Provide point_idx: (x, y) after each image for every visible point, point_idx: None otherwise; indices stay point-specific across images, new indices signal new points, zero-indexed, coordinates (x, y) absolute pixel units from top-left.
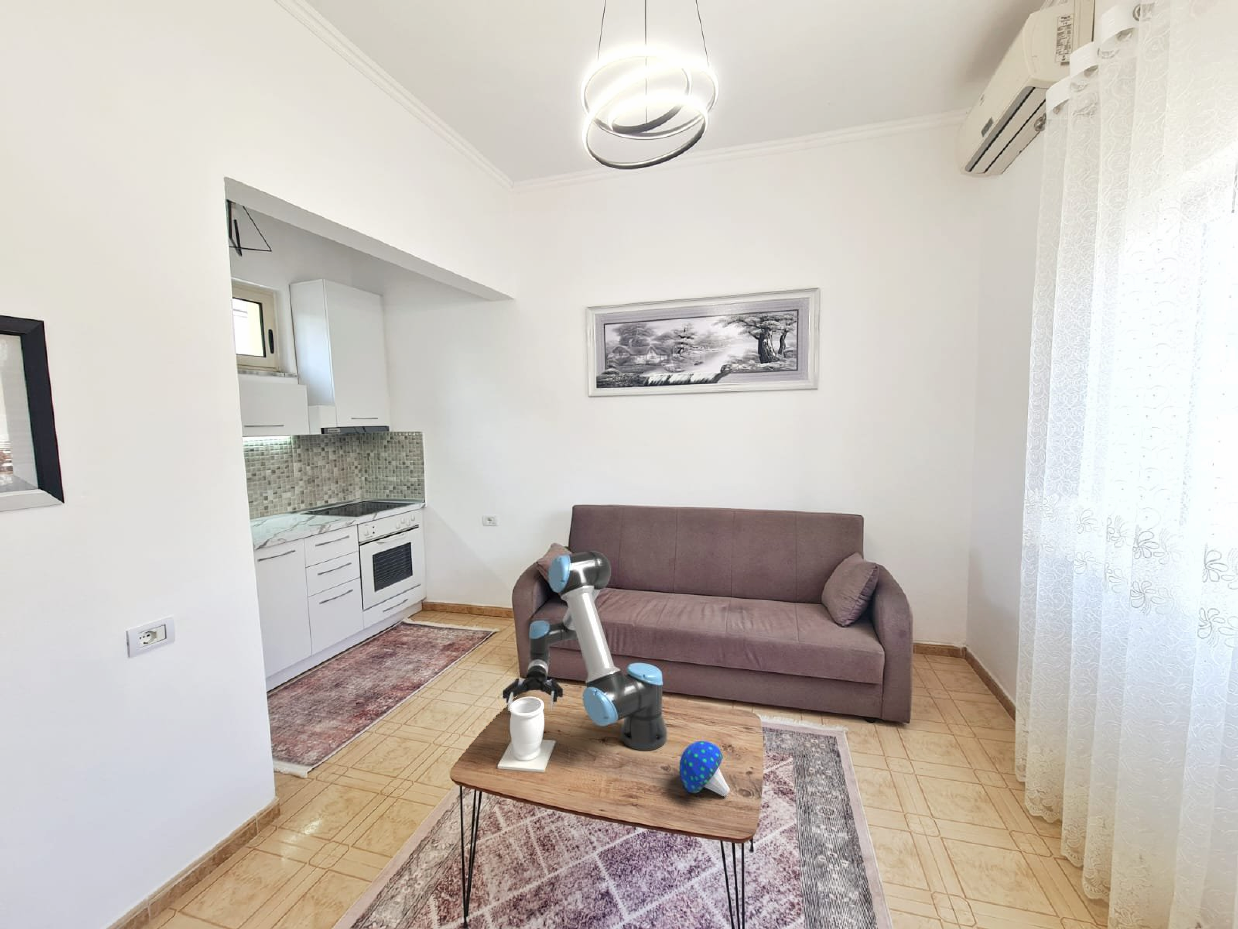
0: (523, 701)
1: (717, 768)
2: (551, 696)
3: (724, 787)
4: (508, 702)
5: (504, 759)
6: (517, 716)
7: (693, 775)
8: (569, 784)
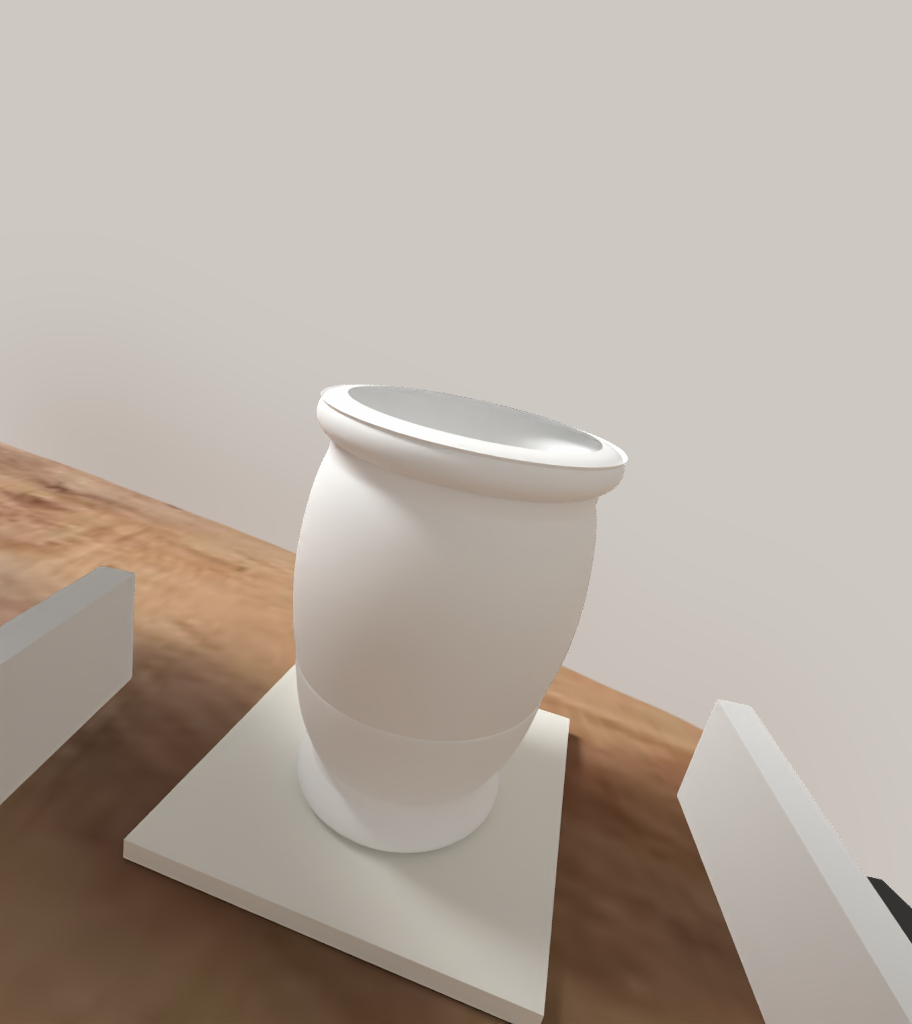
0: (521, 493)
1: None
2: (11, 646)
3: None
4: (746, 707)
5: (545, 752)
6: (529, 425)
7: None
8: (227, 581)
